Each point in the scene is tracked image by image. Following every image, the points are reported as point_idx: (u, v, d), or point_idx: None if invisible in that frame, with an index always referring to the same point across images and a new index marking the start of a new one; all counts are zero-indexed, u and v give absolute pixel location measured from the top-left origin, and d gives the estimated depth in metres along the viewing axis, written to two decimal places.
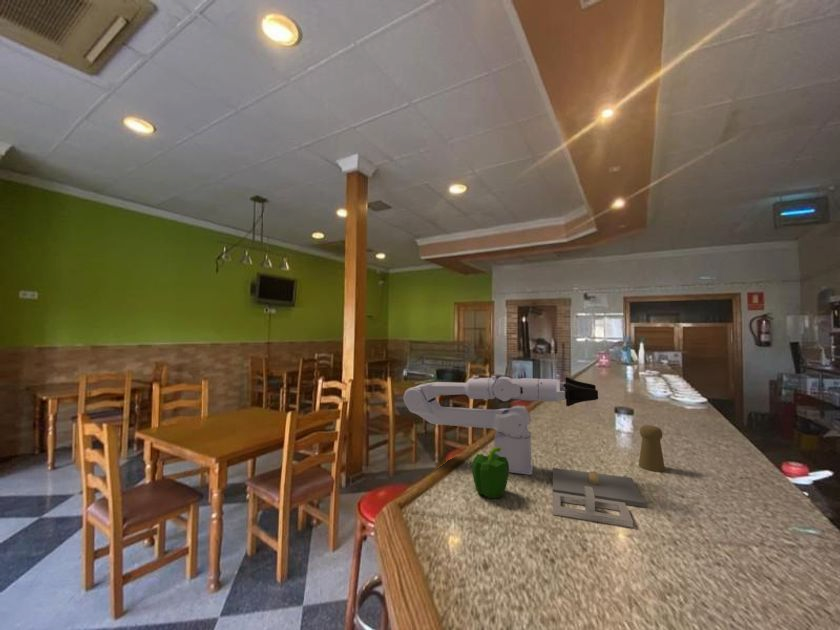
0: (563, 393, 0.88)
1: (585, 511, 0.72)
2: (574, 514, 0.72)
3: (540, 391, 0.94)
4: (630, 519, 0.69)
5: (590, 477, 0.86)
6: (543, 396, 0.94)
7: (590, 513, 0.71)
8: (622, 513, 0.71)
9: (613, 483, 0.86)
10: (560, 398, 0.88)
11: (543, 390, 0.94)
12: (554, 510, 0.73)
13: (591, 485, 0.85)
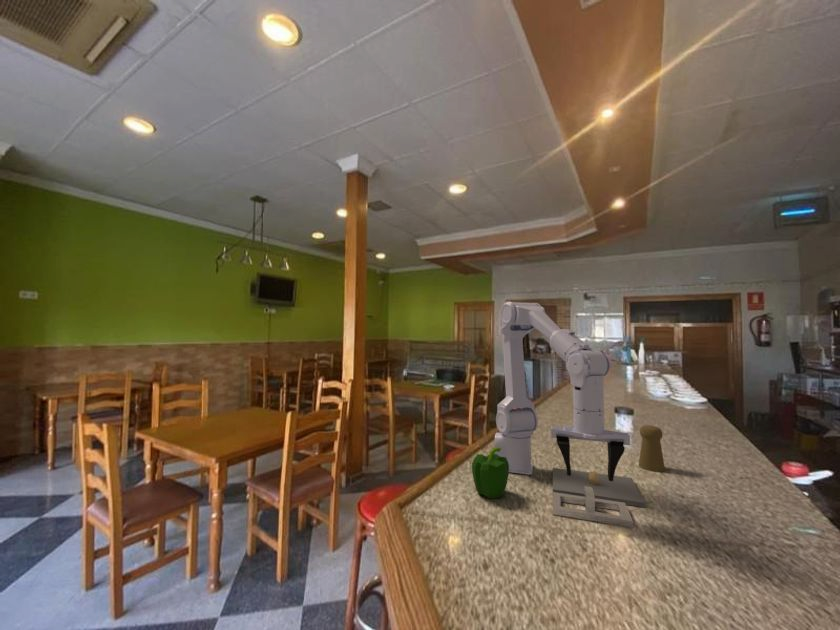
0: (551, 435, 0.77)
1: (585, 511, 0.72)
2: (574, 514, 0.72)
3: (573, 410, 0.76)
4: (630, 519, 0.69)
5: (590, 477, 0.86)
6: None
7: (590, 513, 0.71)
8: (622, 513, 0.71)
9: (613, 483, 0.86)
10: None
11: (573, 413, 0.76)
12: (554, 510, 0.73)
13: (591, 485, 0.85)
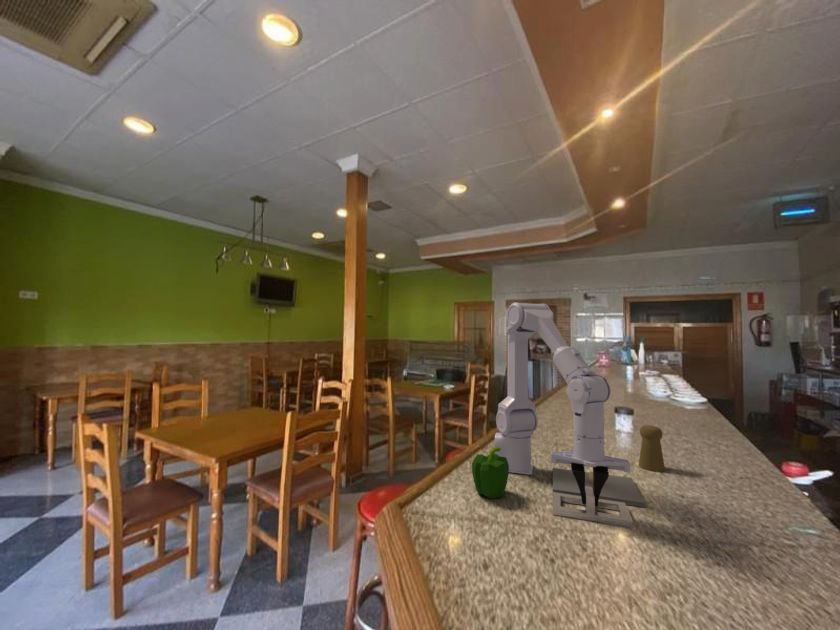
0: (551, 460, 0.77)
1: (585, 511, 0.72)
2: (574, 514, 0.72)
3: None
4: (630, 519, 0.69)
5: (590, 477, 0.86)
6: None
7: (590, 513, 0.71)
8: (622, 513, 0.71)
9: (613, 483, 0.86)
10: None
11: None
12: (554, 510, 0.73)
13: (591, 485, 0.85)
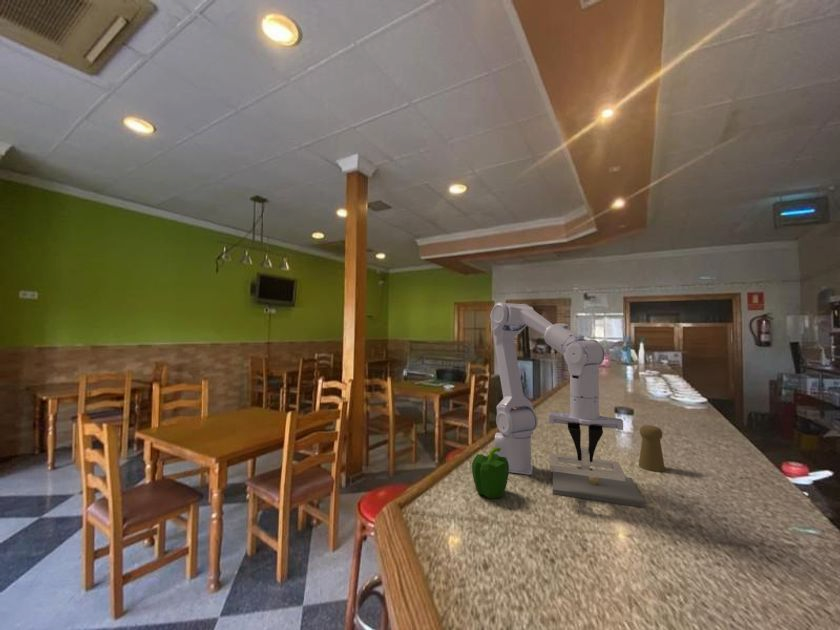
0: None
1: (580, 467, 0.77)
2: (570, 470, 0.76)
3: (570, 397, 0.81)
4: (622, 473, 0.74)
5: (590, 477, 0.86)
6: None
7: (585, 469, 0.76)
8: (615, 469, 0.76)
9: (613, 483, 0.86)
10: None
11: (570, 400, 0.80)
12: (551, 467, 0.78)
13: (591, 485, 0.85)
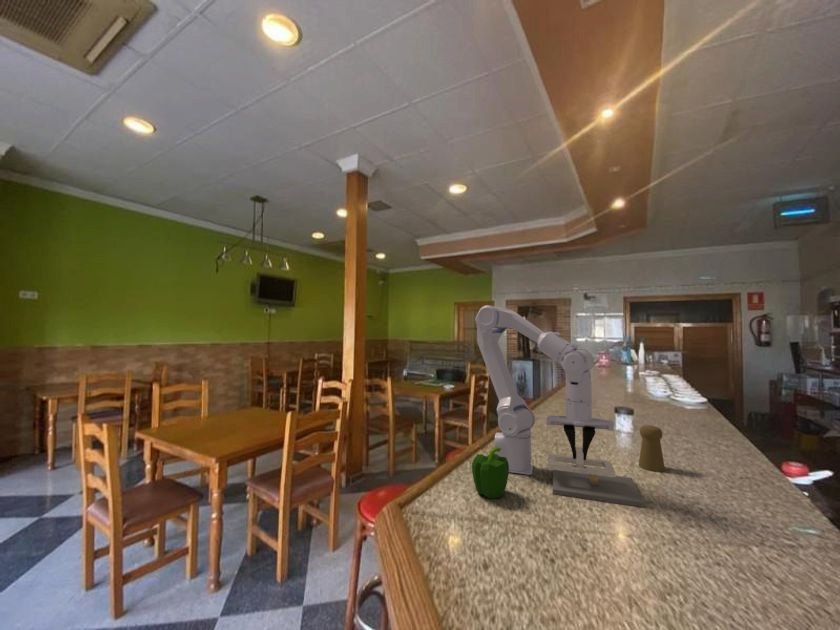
0: None
1: (575, 465, 0.85)
2: (566, 468, 0.84)
3: None
4: (613, 470, 0.82)
5: (590, 477, 0.86)
6: None
7: (579, 467, 0.84)
8: (607, 467, 0.84)
9: (613, 483, 0.86)
10: None
11: (566, 404, 0.89)
12: (549, 465, 0.86)
13: (591, 485, 0.85)
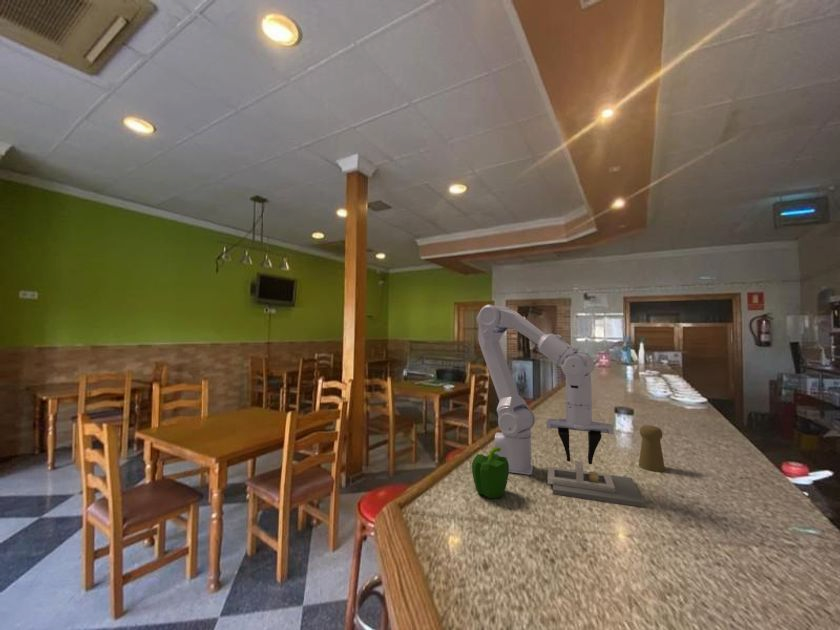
0: None
1: (575, 480, 0.84)
2: (565, 483, 0.84)
3: None
4: (613, 486, 0.82)
5: (590, 477, 0.86)
6: None
7: (579, 482, 0.84)
8: (606, 482, 0.84)
9: (613, 483, 0.86)
10: None
11: (566, 407, 0.89)
12: (549, 480, 0.86)
13: None
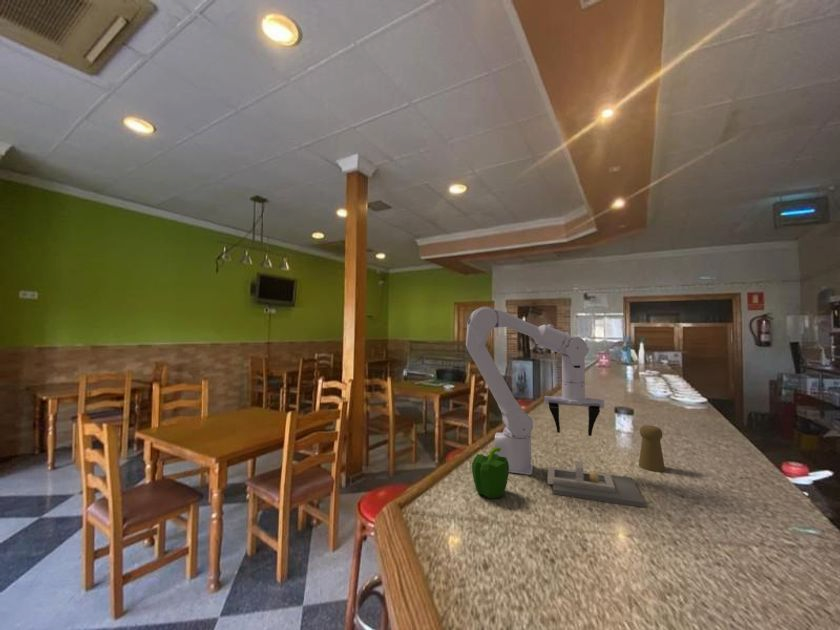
0: None
1: (575, 480, 0.84)
2: (565, 483, 0.84)
3: None
4: (613, 486, 0.82)
5: (590, 477, 0.86)
6: None
7: (579, 482, 0.84)
8: (606, 482, 0.84)
9: (613, 483, 0.86)
10: None
11: (562, 385, 0.99)
12: (549, 480, 0.86)
13: None
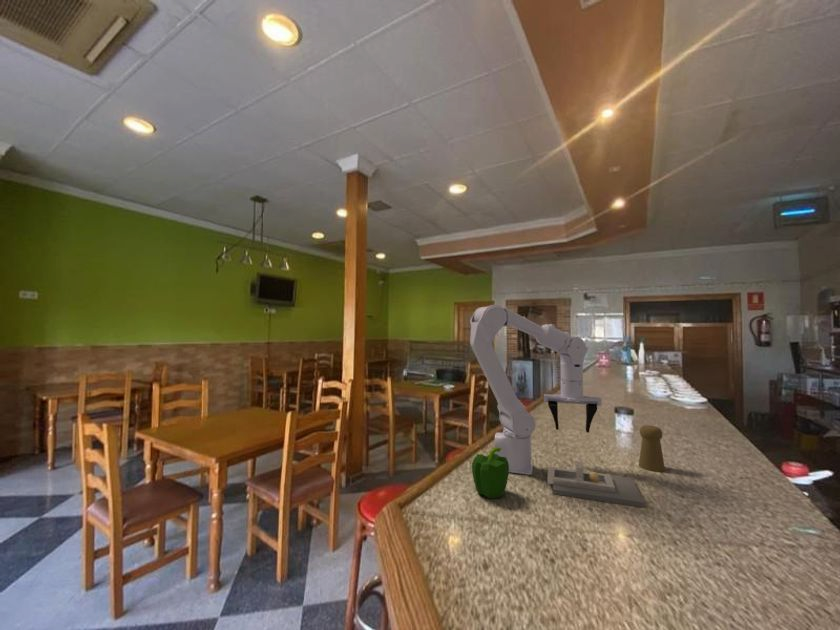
0: (544, 400, 1.03)
1: (575, 480, 0.84)
2: (565, 483, 0.84)
3: None
4: (613, 486, 0.82)
5: (590, 477, 0.86)
6: None
7: (579, 482, 0.84)
8: (606, 482, 0.84)
9: (613, 483, 0.86)
10: None
11: None
12: (549, 480, 0.86)
13: None
